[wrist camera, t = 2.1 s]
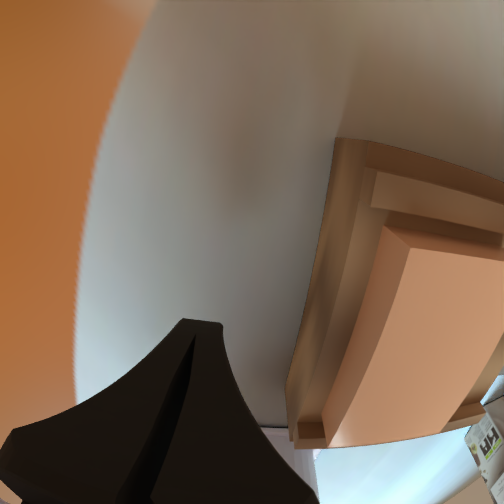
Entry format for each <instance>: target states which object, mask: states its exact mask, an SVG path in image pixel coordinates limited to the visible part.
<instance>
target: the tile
mask: <svg viewBox="0 0 504 504" xmlns="http://www.w3.org/2000/svg"><path fill="white" fill-rule="evenodd" d="M503 332H504V248H503V247H502V246H498V245H493V244H488V243H483V242H478V241H473V240H468V239H463V238H457V237H452V236H447V235H441V234H435V233H430V232H424V231H418V230H412V229H406V228H400V227H394V226H388V225H383V227H382V232H381V236H380V240H379V244H378V248H377V252H376V256H375V260H374V263H373V267H372V271H371V274H370V278H369V281H368V285H367V288H366V292H365V295H364V298H363V302H362V305H361V308H360V311H359V314H358V318H357V321H356V324H355V327H354V330H353V333H352V336H351V338H350V341H349V344H348V347H347V350H346V353H345V355H344V358H343V361H342V363H341V366H340V369H339V371H338V374H337V376H336V379H335V382H334V384H333V387H332V389H331V392H330V394H329V396H328V399H327V401H326V404H325V406H324V408H323V411H322V413H321V416H322V421H323V426H324V431H325V437H326V442H327V447H328V448H333V447H348V446H360V445H369V444H378V443H385V442H392V441H399V440H405V439H411V438H416V437H422V436H427V435H432V434H436V433H439V432H440V431H441V430H442V429H443V427H444V426H445V425H446V424H447V422H448V421H449V420H450V418H451V417H452V416H453V414H454V413H455V411H456V410H457V409H458V407H459V406H460V404H461V403H462V402H463V400H464V399H465V397H466V396H467V394H468V393H469V391H470V390H471V388H472V387H473V385H474V384H475V382H476V380H477V379H478V377H479V376H480V374H481V372H482V371H483V369H484V367H485V366H486V364H487V362H488V360H489V359H490V357H491V355H492V353H493V352H494V350H495V348H496V346H497V344H498V342H499V340H500V338H501V336H502V334H503Z"/></svg>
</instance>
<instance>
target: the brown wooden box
mask: <svg viewBox="0 0 504 504" xmlns="http://www.w3.org/2000/svg"><path fill="white" fill-rule="evenodd" d="M383 225H388V226H394V227H400V228H406V229H412V230H418V231H424V232H430V233H435V234H441V235H447V236H452V237H457V238H463V239H468V240H473V241H478V242H483V243H488V244H493V245H498V246H502V247H503V248H504V182H501V181H499V180H496V179H494V178H491V177H488V176H486V175H483V174H480V173H478V172H475V171H472V170H469V169H466V168H464V167H461V166H458V165H455V164H452V163H448V162H445V161H442V160H439V159H436V158H432V157H429V156H426V155H422V154H419V153H415V152H412V151H408V150H404V149H400V148H396V147H393V146H389V145H384V144H380V143H376V142H372V141H366V140H357V139H347V138H335V145H334V152H333V159H332V166H331V172H330V179H329V185H328V191H327V197H326V203H325V209H324V214H323V220H322V225H321V231H320V236H319V241H318V246H317V252H316V257H315V262H314V266H313V271H312V276H311V281H310V286H309V290H308V295H307V299H306V304H305V308H304V313H303V317H302V321H301V326H300V330H299V334H298V338H297V342H296V346H295V350H294V354H293V358H292V362H291V366H290V370H289V374H288V378H287V381H286V385H285V398H286V408H287V419H288V430H289V441H290V442H294V449H329V448H328V447H327V442H326V437H325V431H324V426H323V421H322V416H321V413H322V411H323V408H324V406H325V404H326V401H327V399H328V396H329V394H330V392H331V389H332V387H333V384H334V382H335V379H336V376H337V374H338V371H339V369H340V366H341V363H342V361H343V358H344V355H345V353H346V350H347V347H348V344H349V341H350V338H351V336H352V333H353V330H354V327H355V324H356V321H357V318H358V314H359V311H360V308H361V305H362V302H363V298H364V295H365V292H366V288H367V285H368V281H369V278H370V274H371V271H372V267H373V263H374V260H375V256H376V252H377V248H378V244H379V240H380V236H381V232H382V227H383ZM503 366H504V332H503V334H502V336H501V338H500V340H499V342H498V344H497V346H496V348H495V350H494V352H493V353H492V355H491V357H490V359H489V360H488V362H487V364H486V366H485V367H484V369H483V371H482V372H481V374H480V376H479V377H478V379H477V380H476V382H475V384H474V385H473V387H472V388H471V390H470V391H469V393H468V394H467V396H466V397H465V399H464V400H463V402H462V403H461V404H460V406H459V407H458V409H457V410H456V411H455V413H454V414H453V416H452V417H451V418H450V420H449V421H448V422H447V424H446V425H445V426H444V427H443V429H442V430H441V431H440V432H439V433H443V432H448V431H452V430H456V429H459V428H463V427H467V426H470V425H474V424H477V423H479V422H480V420H481V419H482V418H483V417H484V415H485V414H486V411H485V409H484V408H483V406H482V404H481V403H480V401H481V400H482V398H483V397H484V395H485V394H486V393H487V391H488V390H489V388H490V387H491V385H492V384H493V382H494V380H495V379H496V377H497V376H498V374H499V372H500V371H501V369H502V368H503ZM439 433H436V434H439ZM432 435H435V434H432ZM427 436H430V435H427ZM422 437H425V436H422ZM416 438H420V437H416ZM411 439H415V438H411ZM405 440H409V439H405ZM399 441H403V440H399ZM392 442H397V441H392ZM385 443H391V442H385ZM378 444H383V443H378ZM369 445H376V444H369ZM360 446H367V445H360ZM348 447H357V446H348ZM333 448H345V447H333Z"/></svg>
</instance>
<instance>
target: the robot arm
mask: <svg viewBox="0 0 504 504" xmlns="http://www.w3.org/2000/svg"><path fill="white" fill-rule="evenodd" d="M320 451H321V449H294V442H290V441H289V430H288V428H261V427H259V425H258V424H257V422H256V420H255V419H254V417H253V415H252V414H251V412H250V410H249V408H248V406H247V405H246V403H245V401H244V399H243V397H242V395H241V392H240V390H239V388H238V386H237V383H236V381H235V378H234V376H233V373H232V370H231V367H230V364H229V361H228V358H227V354H226V350H225V345H224V339H223V325H222V324H221V323H219V322H210V321H201V320H193V319H186V318H183V319H181V320H180V321H179V322H178V323H177V324H176V325H175V327H174V328H173V329H172V330H171V331H170V332H169V333H168V335H167V336H166V337H165V338H164V339H163V340H162V341H161V342H160V343H159V344H158V345H157V346H156V347H155V348H154V349H153V350H152V351H151V352H150V353H149V354H148V355H147V356H146V357H145V358H144V359H142V360H141V361H140V362H139V363H138V364H137V365H136V366H134V367H133V368H132V369H131V370H130V371H129V372H127V373H126V374H125V375H124V376H122V377H121V378H120V379H118V380H117V381H116V382H114V383H113V384H111V385H110V386H108V387H107V388H105V389H104V390H102V391H101V392H99V393H97V394H96V395H94V396H93V397H91V398H89V399H88V400H86V401H84V402H82V403H80V404H78V405H76V406H74V407H72V408H70V409H68V410H66V411H64V412H61V413H59V414H57V415H54V416H52V417H50V418H47V419H44V420H41V421H38V422H35V423H32V424H29V425H26V426H22V427H18V428H15V429H13V430H12V431H11V433H10V434H9V436H8V437H7V439H6V441H5V442H4V444H3V446H2V448H1V449H0V480H1V481H2V482H3V483H4V484H5V485H6V486H7V487H9V488H10V489H11V490H12V491H13V492H14V493H15V494H16V495H18V496H19V497H20V498H21V499H22V503H21V504H320V502H319V494H318V486H317V479H316V472H315V464H314V462H315V460H316V458H317V456H318V455H319V453H320ZM0 504H8V503H7V502H5V501H4V500H2V499H1V498H0Z"/></svg>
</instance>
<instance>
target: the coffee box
mask: <svg viewBox="0 0 504 504" xmlns="http://www.w3.org/2000/svg"><path fill="white" fill-rule="evenodd" d="M483 408H484V409H485V411H486V414H485V415H484V417H483V418H482V419H481V420H480V422H479V423H477V424H474V425H472V427H471V429H470V430H469V432H468V433H467V435H466V437H465V438H464V440H465V442H466V444H467V446H468V447H469V449H470V452H471V454H472V456H473V458H474V460H475V462H476V464H477V466H478V468H479V470H480V473H481V475H482V477H483V479H484V481H485V484H486V486H487V488H488V490H489V493H490V495H491V497H492V500H493V502H494V504H504V396H503V397H501V398H499V399H497V400H495V401H493V402H491V403H489V404H487V405H485V406H484V407H483Z"/></svg>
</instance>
